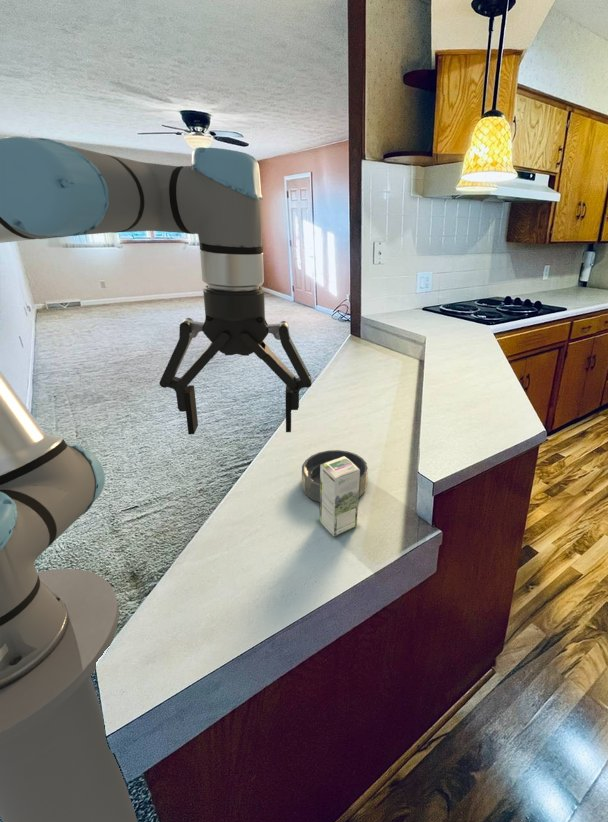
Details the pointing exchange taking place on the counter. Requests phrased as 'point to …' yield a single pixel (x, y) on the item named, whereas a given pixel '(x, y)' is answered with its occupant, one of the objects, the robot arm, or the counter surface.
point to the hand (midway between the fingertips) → (242, 429)
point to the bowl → (313, 463)
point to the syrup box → (339, 495)
